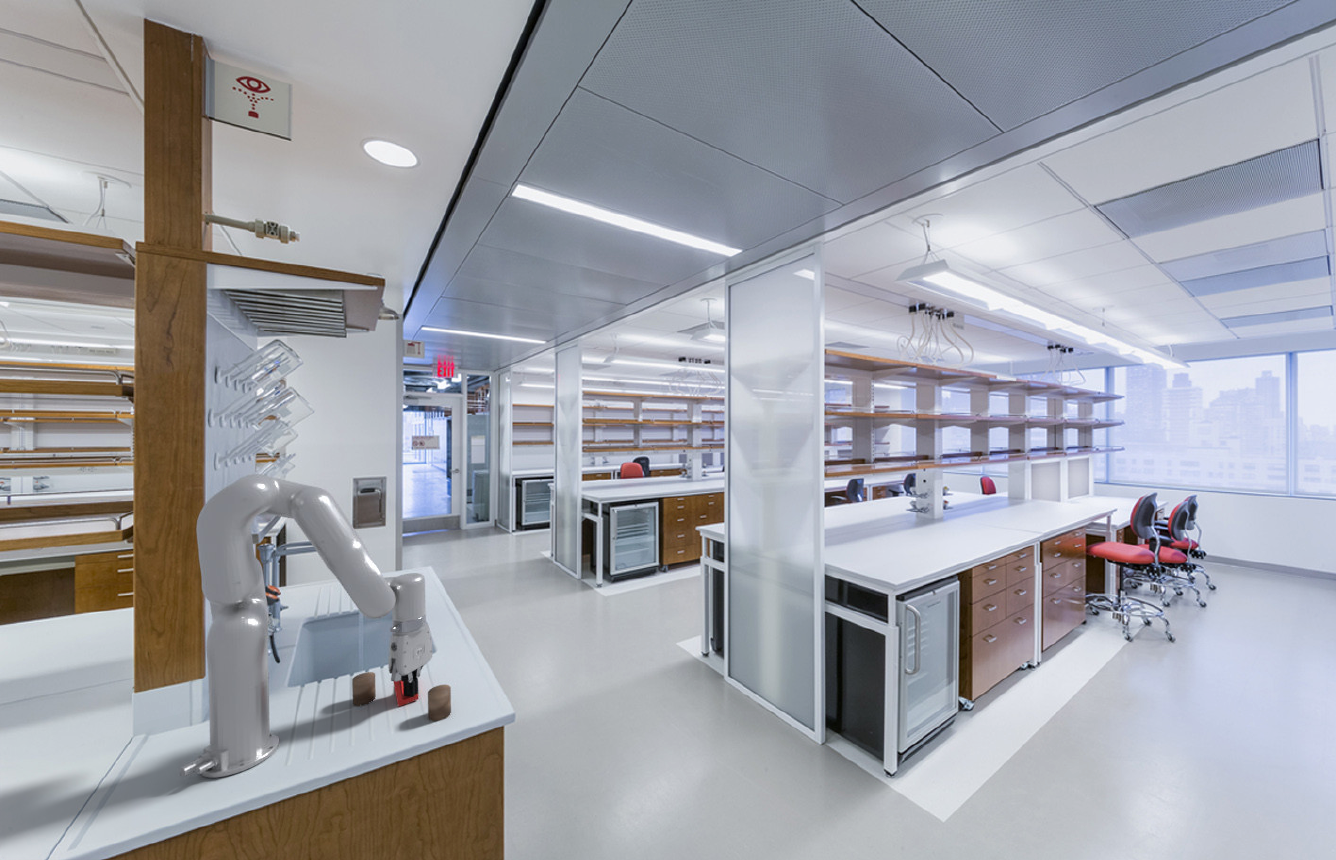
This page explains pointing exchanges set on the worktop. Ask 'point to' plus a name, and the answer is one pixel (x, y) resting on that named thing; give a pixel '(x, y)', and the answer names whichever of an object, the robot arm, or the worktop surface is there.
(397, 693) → the bracket
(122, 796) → the worktop surface
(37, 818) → the worktop surface
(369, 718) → the worktop surface
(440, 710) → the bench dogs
